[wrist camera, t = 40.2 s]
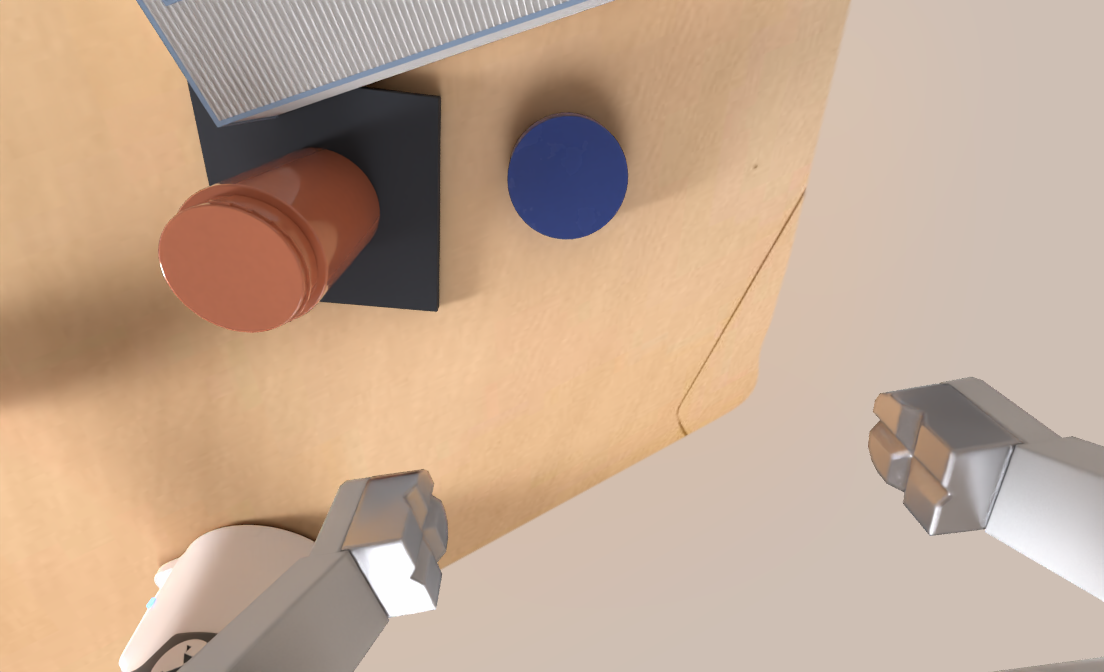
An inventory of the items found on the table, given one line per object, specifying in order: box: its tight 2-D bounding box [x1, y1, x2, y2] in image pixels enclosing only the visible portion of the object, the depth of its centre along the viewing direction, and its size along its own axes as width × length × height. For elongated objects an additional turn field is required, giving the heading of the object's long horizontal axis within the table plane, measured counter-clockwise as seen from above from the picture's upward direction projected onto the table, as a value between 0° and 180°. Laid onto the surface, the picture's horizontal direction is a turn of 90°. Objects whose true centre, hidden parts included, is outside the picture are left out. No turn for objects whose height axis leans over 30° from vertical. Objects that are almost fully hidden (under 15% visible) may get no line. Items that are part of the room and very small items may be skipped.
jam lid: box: [507, 112, 628, 239], centre depth 29 cm, size 7×7×2 cm
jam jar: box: [158, 148, 380, 332], centre depth 25 cm, size 6×6×11 cm
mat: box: [187, 80, 441, 312], centre depth 30 cm, size 13×13×1 cm
